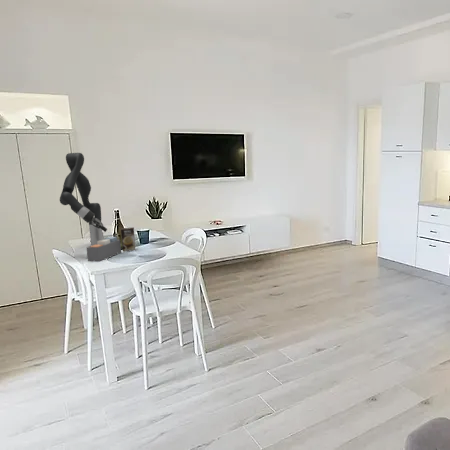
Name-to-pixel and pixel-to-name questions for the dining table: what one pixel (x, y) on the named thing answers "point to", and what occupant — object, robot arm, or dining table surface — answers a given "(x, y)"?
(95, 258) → the block
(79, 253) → the dining table surface
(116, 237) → the slate key
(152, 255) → the dining table surface
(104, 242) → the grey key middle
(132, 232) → the coffee box
